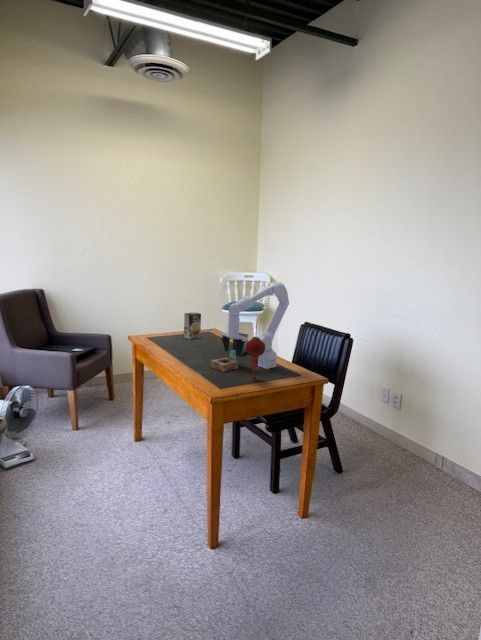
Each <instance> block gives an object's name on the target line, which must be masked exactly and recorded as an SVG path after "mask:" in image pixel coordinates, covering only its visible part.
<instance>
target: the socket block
mask: <svg viewBox="0 0 481 640" xmlns="http://www.w3.org/2000/svg"><path fill="white" fill-rule="evenodd" d="M210 368H212V369H215V370H217V371H220V372H222V373H225V372H229V371H233V370H238V369H239V361H235V360H232V359H230V357H227V356H225V357H222V358H217V359H210Z"/></svg>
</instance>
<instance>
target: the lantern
mask: <svg viewBox="0 0 481 640" xmlns="http://www.w3.org/2000/svg"><path fill="white" fill-rule="evenodd" d="M255 322H256V326H255V329H256V330H255V334H257V333H258V332H257V330H258V320H256V321H255ZM260 338H261V337H258V336H253V337H251V338H250V339H248V342H247V344H246V351H247V352H246V353H247V354H248V355H250V357H251V367H252V368H253V369H252V371H253V372H252V379H253V380H255V379H256V374H257V373H256V371H257V370H256V368H257V367H259V366H258V358H259V356H260V355H262V354H263V353H264V352H265V344H264V342H263V341H261V340H260Z"/></svg>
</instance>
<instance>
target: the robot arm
mask: <svg viewBox="0 0 481 640" xmlns="http://www.w3.org/2000/svg"><path fill="white" fill-rule="evenodd" d="M267 296H271V297H272V296H275V297H276V298H277V301H278V305H277V307H276V309H275V311H274V313H273V316H272V318H271V319H270V322H269V324H268V325H267V328H266V329H265V332H264V333H263V334H262V335H261V336H260V337H259V338H260V340H261V341H263V342H264V344H265V352H264V353H263V354H262V355H260V356H259V358H258V367H260V368H263V369H266V370H268V369H271V368H276V367H278V365H277V353H276V351H274V350H273V347H272V346H273V340H274V337H275V334H276V332H277V330H278V328H279V326H280V323H281V322H282V319H283V318H284V315H285V314H286V311H287V309H288V307H289V305H290V300H289V293H288V290H287V288H286V286H285V284H284V283H282V282H275V283H274V284H271V285H269V286H267V287H265V288H264V289H262V290H260V291H259V292H257V293H255V294H253V295H252V296H249V295H247V296H246V295H244V296H242V298H241V299H240V300H238V301H237V300H236V301H234V303H232V304H231V305H230V306H229V307H228V324H227V325H228V327H227V332H220V337H221V342H222V344H223V347H224V351H225V352H228V351H230V350H229V349H230V340H231V339H232V340H233V339H237V340H239V341H236V343H237V354H240V352H241V349H242V346H243V344H244V343H245V341H246V337H244V336H241V335H239V333H240V320H241V319H240V313H241V312H244V311H246V310H248V309H249V308H251V307H253V306H254V303H255V302H257V301H259V300H261V299H263V298H265V297H267ZM237 354H236V355H237Z"/></svg>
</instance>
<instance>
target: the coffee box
mask: <svg viewBox="0 0 481 640" xmlns="http://www.w3.org/2000/svg"><path fill="white" fill-rule="evenodd" d="M183 319H184V324H183V326H184V327H183V338H185V339H187V340H193V339H200V338H201V331H202V314H201V313H199V312H185V313H184V317H183Z"/></svg>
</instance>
